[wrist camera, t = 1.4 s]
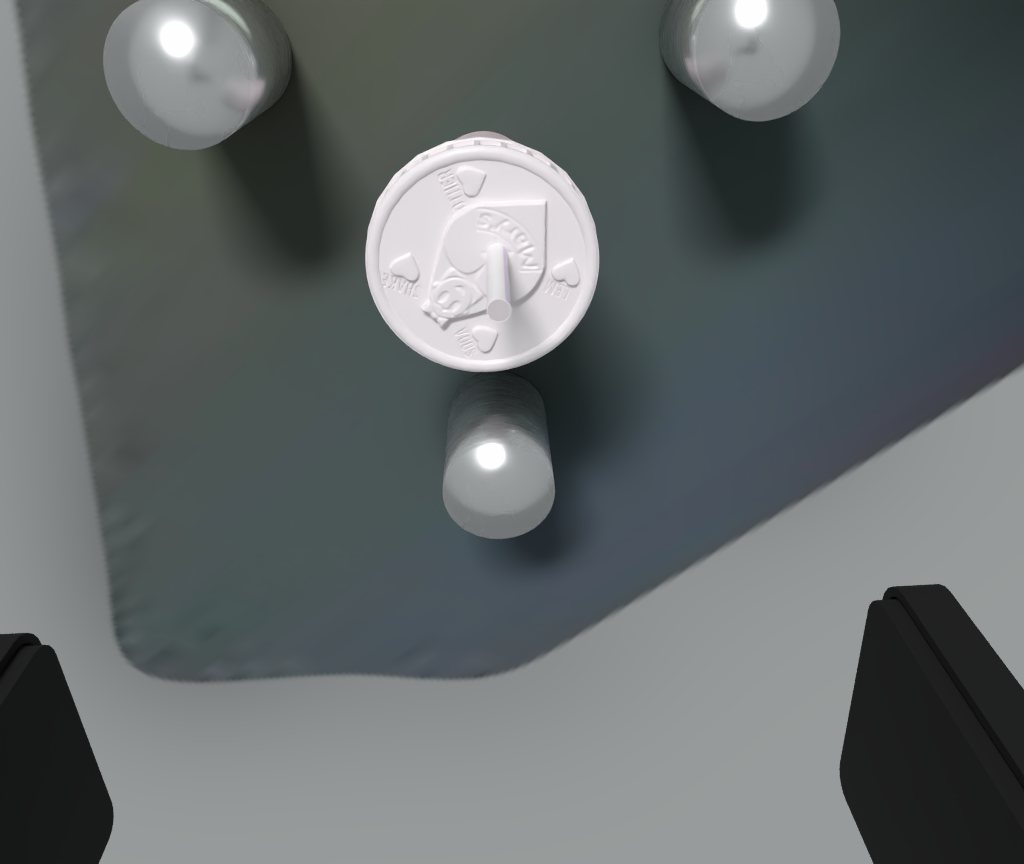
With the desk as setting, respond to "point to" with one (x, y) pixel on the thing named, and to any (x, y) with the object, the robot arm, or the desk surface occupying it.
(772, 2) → the set of grey cylinders
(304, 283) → the desk surface
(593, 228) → the smoothie
